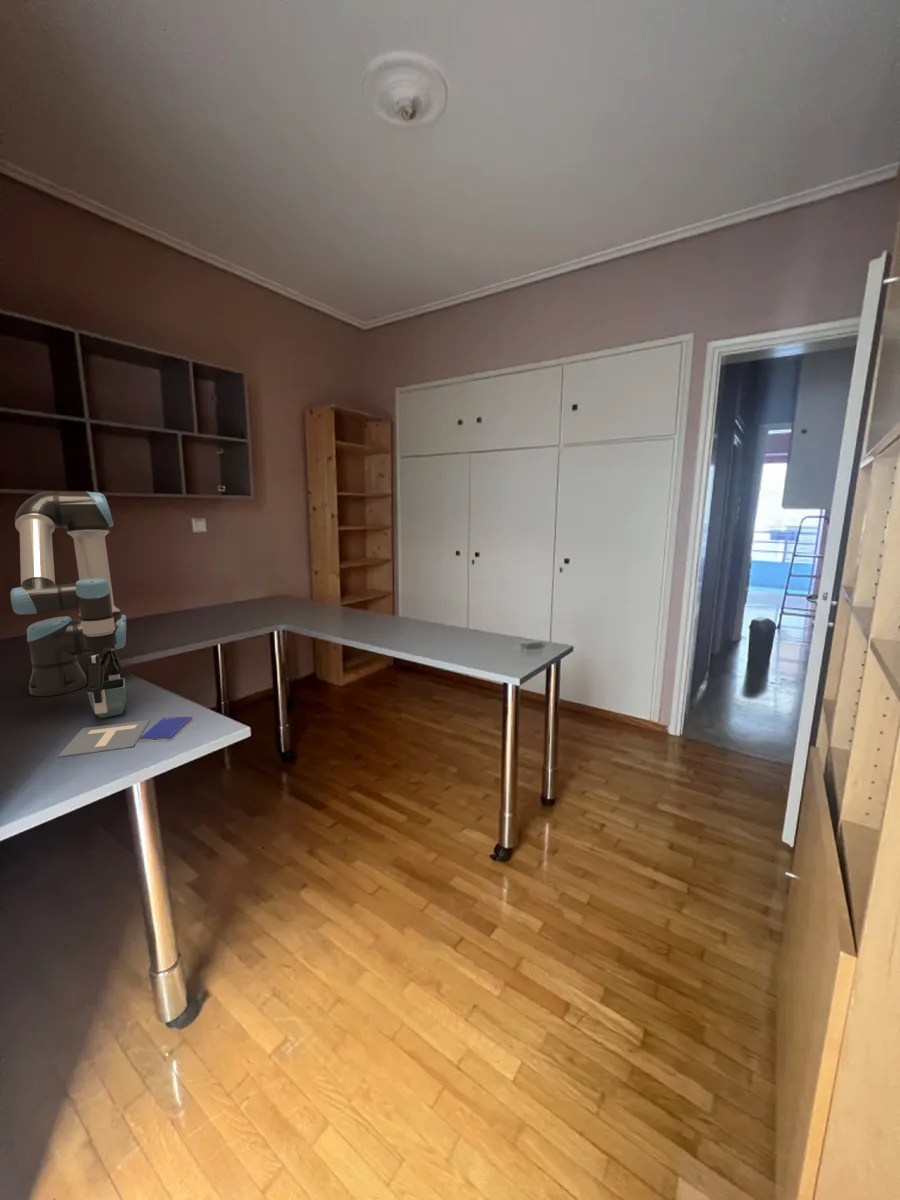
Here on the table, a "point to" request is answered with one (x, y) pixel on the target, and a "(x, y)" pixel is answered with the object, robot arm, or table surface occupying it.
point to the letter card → (105, 738)
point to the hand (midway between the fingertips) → (109, 703)
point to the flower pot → (112, 697)
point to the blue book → (166, 728)
